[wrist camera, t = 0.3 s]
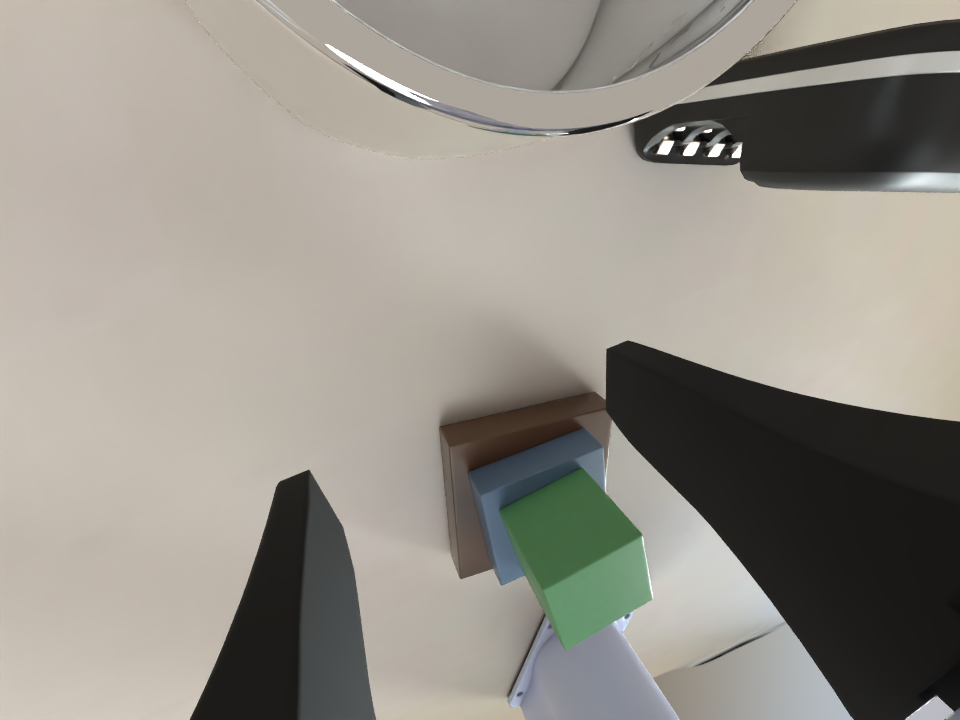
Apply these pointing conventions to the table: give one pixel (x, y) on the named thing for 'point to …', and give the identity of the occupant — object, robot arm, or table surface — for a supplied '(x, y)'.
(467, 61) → the beer glass
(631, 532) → the green cube
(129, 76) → the table surface
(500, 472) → the middle block
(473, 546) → the base slab
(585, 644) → the robot arm
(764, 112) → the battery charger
